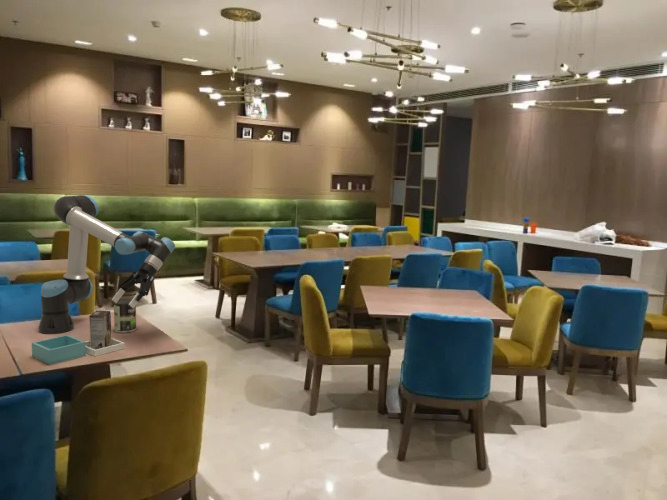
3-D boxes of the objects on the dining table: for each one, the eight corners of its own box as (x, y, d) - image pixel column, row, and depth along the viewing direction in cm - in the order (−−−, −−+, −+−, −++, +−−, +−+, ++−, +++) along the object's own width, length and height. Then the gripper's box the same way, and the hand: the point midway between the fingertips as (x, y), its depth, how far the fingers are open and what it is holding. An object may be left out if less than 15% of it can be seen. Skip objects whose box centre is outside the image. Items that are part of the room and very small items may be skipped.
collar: (77, 349, 243) (77, 343, 242) (107, 341, 254) (107, 336, 253) (94, 356, 234) (94, 350, 234) (124, 348, 245) (124, 342, 245)
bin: (32, 356, 232) (31, 342, 231) (67, 347, 244) (67, 334, 243) (49, 364, 223) (49, 350, 222) (85, 355, 235) (85, 341, 234)
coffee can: (140, 327, 277) (140, 299, 275) (129, 333, 267) (128, 304, 265) (122, 325, 279) (121, 298, 277) (109, 331, 269) (108, 303, 267)
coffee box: (97, 345, 248) (96, 310, 246) (112, 345, 249) (111, 310, 246) (90, 352, 239) (88, 315, 237) (105, 352, 240) (104, 315, 237)
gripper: (172, 275, 254) (144, 313, 245) (140, 268, 269) (112, 303, 260) (161, 265, 249) (132, 303, 240) (130, 258, 264) (101, 294, 255)
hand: (122, 303), depth 250 cm, fingers open, 13 cm apart
